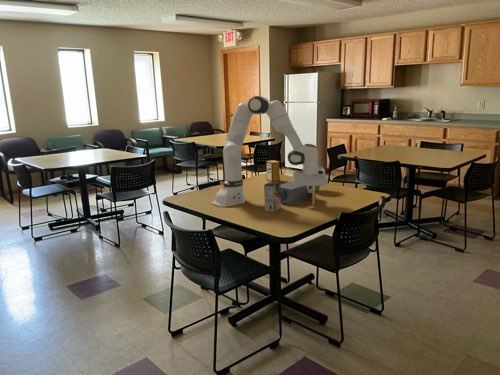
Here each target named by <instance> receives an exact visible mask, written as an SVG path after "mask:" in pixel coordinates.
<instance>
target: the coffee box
mask: <svg viewBox="0 0 500 375" xmlns="http://www.w3.org/2000/svg"><path fill="white" fill-rule="evenodd" d="M280 185H281V182H267V183H265V184H264V185H263V188H264V196H263V197H264V211H267V212H273V213H274V212H277V211H278V210H280V209H281V208H282V203H281V187H280Z"/></svg>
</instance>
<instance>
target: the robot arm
mask: <svg viewBox="0 0 500 375" xmlns="http://www.w3.org/2000/svg"><path fill="white" fill-rule="evenodd" d="M264 114H266V115H267V116H268V118H269V120H270V123H271V125H272V127H273V128H274V130H275V131H276V132H277V133H280V134H282V135H284V136H285V137H286V138H287V140H288V142H289V144H290V145H291V147H292V149H293V150H290V151H289V152H288V154H287V161H288V163H289V164H290V165H292V166H299V165H302V168H303V170H295V171H294V172H293V174H292V177H293V181H294V185H295V186H307V189H308V193H312V190H313V189H314V186H320V187H326V186H327V185H328V180H327V179H328V178H327V175H326V171H325V168H324V169H321V168H318V167H319V165H318V160H319V157H318V156H319V155H318V153H319V152H318V148H317V147H318V146H316V145H315V144H313V143H305V144H303V142H302V141H301V139H300V137H299V135H298V133H297V131H296V130H295V128H294V126H293V124H292V122H291V119H290V117H289V115H288V113H287V110H286V108H285V107H284V105H283V103H282V102H281V101H280V100H275V99H274V100H272V101H269V100H268V98H267V97H264V96H262V95H255V96H252V97H251V98H250V99H249V100H248V102H240V103H239V104H237V106H236V108H235V111H234V113H233V116H232V118H231V123H230V126H229V128H228V133H227V137H226V139H225V143H224V147H223V149H222V155H223V156H222V157H223V165H224V166H223V168H224V181H220V182H219V184H220V185H222V187H221V188H220V189H219V190H218V191H217V192H216V194H215V200H213V201H212V202H211V204H212V205H214V206H216V207H221V208H222V207H225V208H227V207H231V206H232V207H233V206H237V205H242V204H245V203H246V198H245V193H244V189H243V188H244V186H243V184H244V180H243V172H242V171H243V170H242V148H243V145H244V141H245V138H246V135H247V133H248V130H249V126H250V123H251V119H252V117H253V116H254V115H264ZM309 186H312V189H311V190H309Z"/></svg>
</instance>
